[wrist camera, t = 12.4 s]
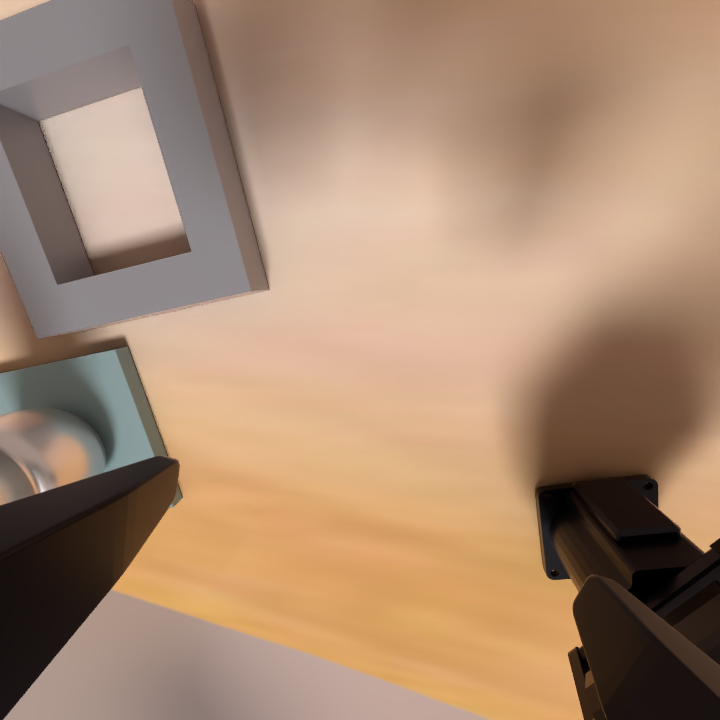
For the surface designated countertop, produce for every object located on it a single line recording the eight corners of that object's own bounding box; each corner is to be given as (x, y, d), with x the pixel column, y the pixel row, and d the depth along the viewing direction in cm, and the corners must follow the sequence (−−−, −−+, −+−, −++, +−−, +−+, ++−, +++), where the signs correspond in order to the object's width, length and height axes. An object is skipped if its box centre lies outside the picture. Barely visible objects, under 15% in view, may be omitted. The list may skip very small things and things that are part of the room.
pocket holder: (269, 289, 19) (251, 290, 17) (78, 332, 21) (37, 338, 19) (194, 5, 16) (160, -43, 14) (-19, 84, 18) (-83, 53, 16)
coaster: (182, 497, 23) (173, 507, 22) (51, 515, 25) (37, 524, 24) (127, 346, 21) (114, 349, 20) (-14, 376, 22) (-32, 380, 21)
